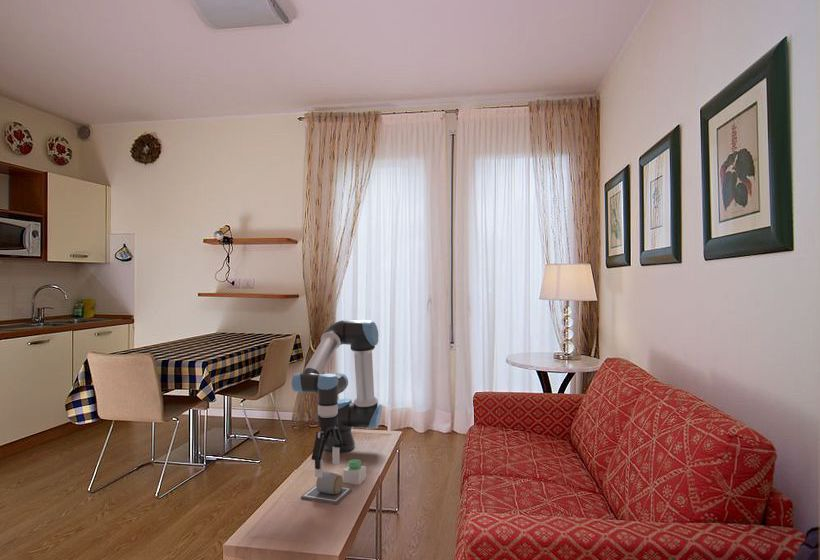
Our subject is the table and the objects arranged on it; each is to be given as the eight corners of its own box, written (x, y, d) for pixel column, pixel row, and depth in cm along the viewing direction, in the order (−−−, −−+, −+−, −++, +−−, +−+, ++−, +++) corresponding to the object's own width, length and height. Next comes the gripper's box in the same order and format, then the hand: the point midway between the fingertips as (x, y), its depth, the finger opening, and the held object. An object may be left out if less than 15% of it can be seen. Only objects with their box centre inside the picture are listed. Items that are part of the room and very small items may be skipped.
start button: (351, 463, 203) (351, 458, 203) (362, 464, 201) (362, 460, 201) (346, 467, 198) (346, 462, 198) (357, 469, 196) (357, 464, 196)
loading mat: (318, 485, 194) (318, 483, 194) (352, 490, 189) (352, 488, 189) (300, 498, 182) (301, 496, 182) (336, 504, 177) (336, 502, 177)
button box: (350, 476, 204) (350, 464, 204) (365, 478, 202) (366, 466, 202) (343, 482, 197) (343, 470, 197) (358, 484, 195) (358, 472, 195)
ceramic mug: (334, 498, 180) (335, 477, 180) (315, 495, 183) (315, 474, 183) (347, 487, 190) (348, 467, 190) (329, 484, 193) (329, 465, 193)
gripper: (334, 406, 199) (334, 457, 199) (301, 422, 176) (301, 481, 176) (350, 407, 197) (350, 460, 197) (320, 425, 173) (320, 484, 173)
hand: (327, 470), depth 186 cm, fingers open, 13 cm apart
